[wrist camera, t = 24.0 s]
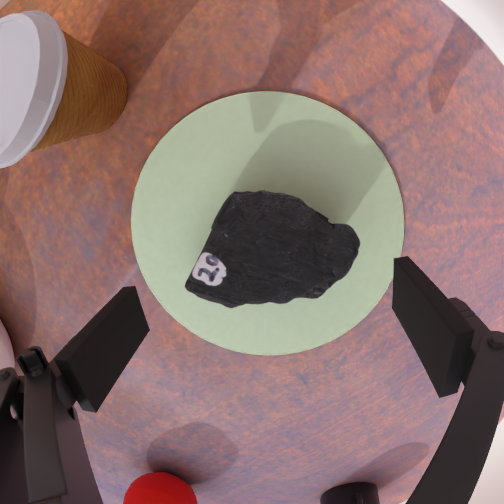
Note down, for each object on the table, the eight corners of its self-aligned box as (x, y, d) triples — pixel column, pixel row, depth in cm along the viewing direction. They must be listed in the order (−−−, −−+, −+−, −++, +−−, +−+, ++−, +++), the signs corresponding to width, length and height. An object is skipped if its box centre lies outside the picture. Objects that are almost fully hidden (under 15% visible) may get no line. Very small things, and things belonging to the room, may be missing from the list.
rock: (189, 277, 25) (166, 314, 20) (242, 161, 22) (231, 168, 16) (286, 322, 26) (287, 367, 21) (350, 217, 23) (372, 241, 17)
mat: (388, 81, 19) (390, 80, 19) (398, 336, 26) (399, 338, 26) (110, 127, 22) (107, 127, 22) (170, 357, 29) (169, 360, 29)
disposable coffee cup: (84, 34, 19) (-11, 0, 8) (167, 66, 20) (79, 17, 9) (41, 128, 22) (-60, 139, 11) (113, 171, 23) (8, 201, 12)
